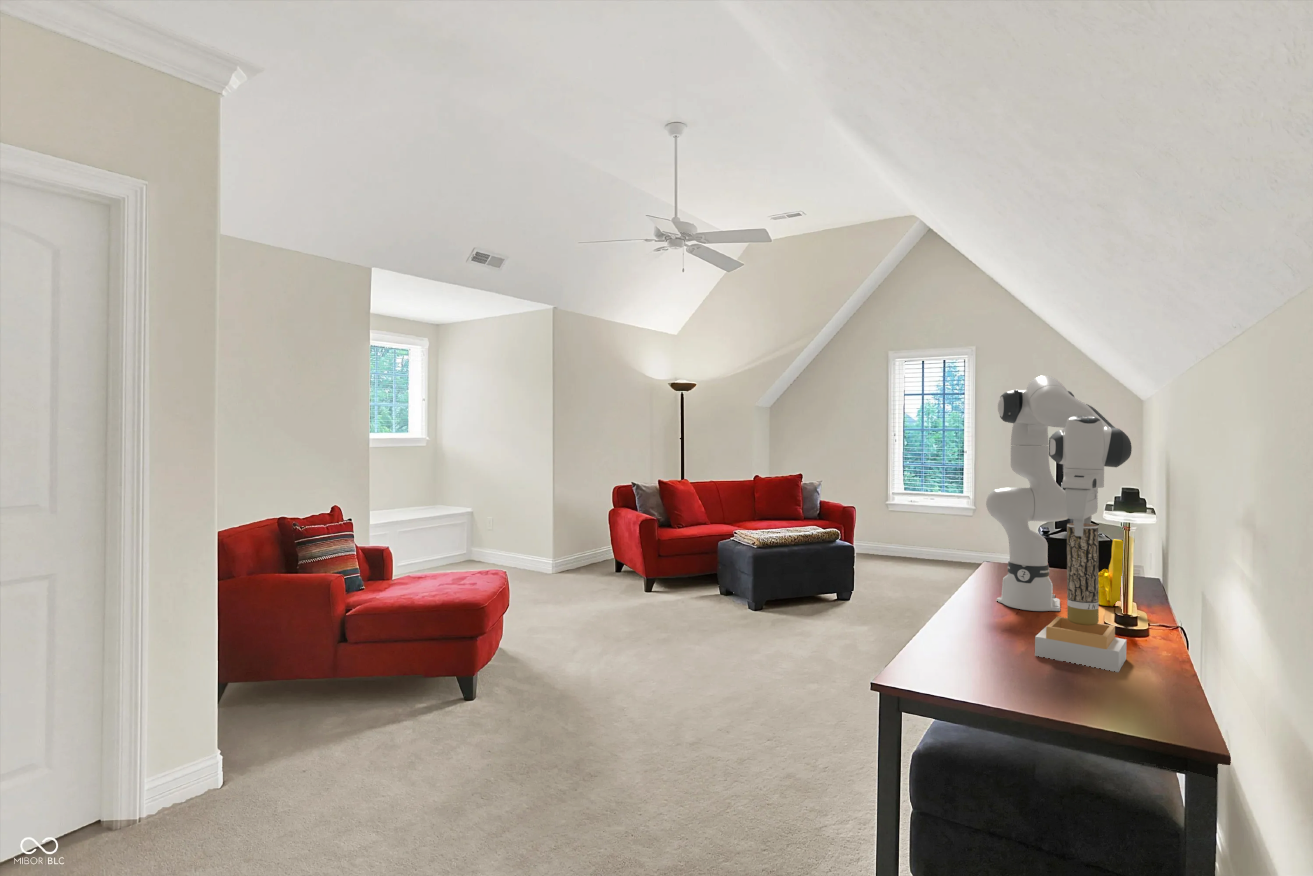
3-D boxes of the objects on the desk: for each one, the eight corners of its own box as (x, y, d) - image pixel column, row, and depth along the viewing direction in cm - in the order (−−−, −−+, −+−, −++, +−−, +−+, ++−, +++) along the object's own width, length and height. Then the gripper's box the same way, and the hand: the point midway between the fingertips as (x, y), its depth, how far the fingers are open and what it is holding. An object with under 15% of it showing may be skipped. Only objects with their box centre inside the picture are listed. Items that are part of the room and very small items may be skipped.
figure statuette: (1089, 598, 240) (1091, 534, 240) (1116, 600, 237) (1117, 536, 237) (1101, 610, 224) (1102, 542, 223) (1129, 613, 221) (1131, 544, 220)
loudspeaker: (1046, 644, 188) (1046, 614, 188) (1126, 659, 176) (1126, 627, 176) (1034, 655, 178) (1035, 624, 178) (1118, 672, 166) (1119, 639, 166)
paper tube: (1064, 622, 177) (1064, 524, 176) (1070, 617, 182) (1070, 522, 181) (1095, 627, 172) (1095, 527, 172) (1101, 622, 177) (1100, 524, 177)
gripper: (1077, 477, 186) (1076, 528, 187) (1060, 481, 171) (1059, 537, 171) (1104, 478, 182) (1103, 530, 183) (1090, 482, 167) (1089, 540, 167)
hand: (1082, 534), depth 177 cm, fingers closed on paper tube, 7 cm apart
